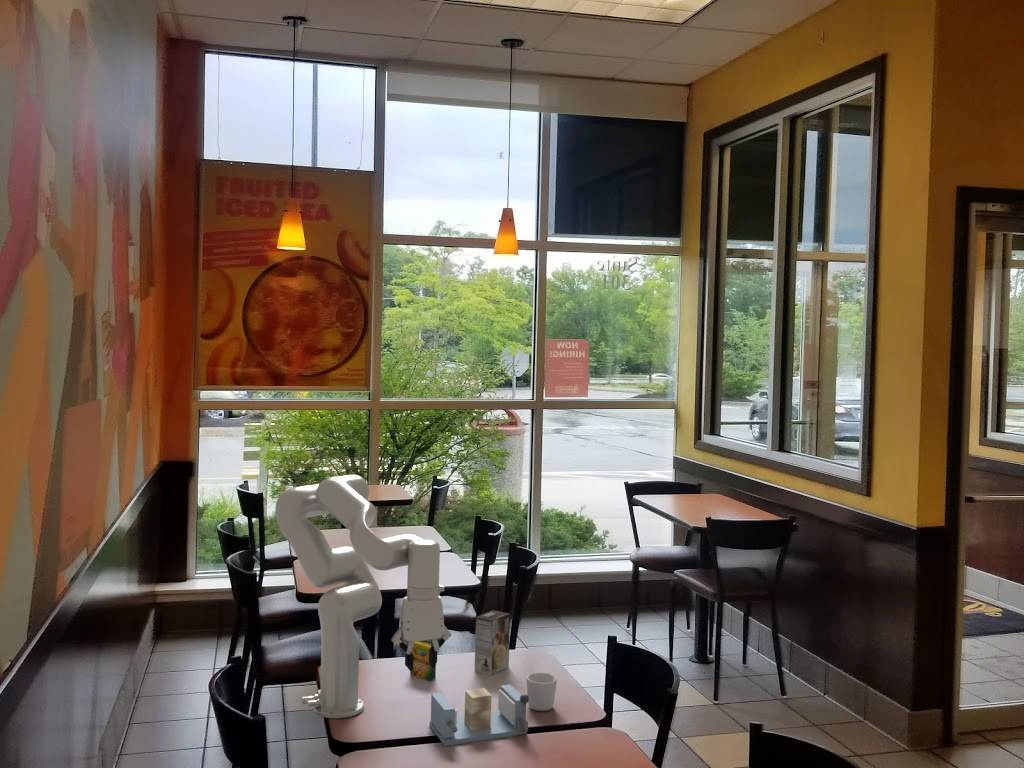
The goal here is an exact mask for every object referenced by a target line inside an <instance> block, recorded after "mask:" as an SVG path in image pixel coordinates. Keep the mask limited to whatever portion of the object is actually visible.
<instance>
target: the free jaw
mask: <svg viewBox="0 0 1024 768" xmlns="http://www.w3.org/2000/svg"><path fill="white" fill-rule="evenodd" d="M430 699H431V701H430V702H431V703H430V721H431V722H432V723H433V725H434V726H435V727H436V729H437V730H438V731H439V733H440V734H441V735H442V737H443V738H450V737H454V733H456V732H457V727H456V724H457V717H458V716H457V715H458V714H457V713H458V711H457V709H456V708H455V706H454V705H453V704H452V703H451V702H450V701H449V700H448V699H447V698H446V696H445V695H444V694H443V693H442V692H437V693H436V692H435V693H431V696H430Z"/></svg>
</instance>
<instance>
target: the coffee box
mask: <svg viewBox="0 0 1024 768" xmlns="http://www.w3.org/2000/svg"><path fill="white" fill-rule="evenodd" d="M510 618H511V613H509V612H503V611H498V610H489V611H487V612H485V613H482V614H480V615H478V616H475V636H474V637H475V638H474V671H475V672H477V673H481V674H484V675H485V674H486V675H489V676H493V675H495V674H497V673H499V672H500V671H503V670H505V669H506V668H508V667H510V665H509V664H510V632H511V631H510V627H511V626H510V625H511V624H510V621H511V619H510Z"/></svg>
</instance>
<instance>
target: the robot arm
mask: <svg viewBox="0 0 1024 768" xmlns="http://www.w3.org/2000/svg"><path fill="white" fill-rule="evenodd" d="M369 497H370V487H369V484H368V482H367V481H366V480H365V479H364V478H363V477H362V476H360V475H357V474H347V475H339V476H332V477H328V478H326V479H323V480H322V481H321V482H320V483H313V484H306V485H300V486H294V487H291V488H289V489H286V490H284V491H283V492H281V493H280V494H279V496H278V497H277V500H276V502H275V507H274V509H275V510H274V511H275V519H276V523H277V526H278V528H279V530H280V531H281V533H282V534H283V536H284V537H285V539H286V540H287V541H288V543H289V544H290V546H291V547H292V549H293V550H294V553H295V555H296V557H297V559H298V561H299V563H300V565H301V567H302V569H303V571H304V573H305V575H306V577H307V579H308V581H309V582H310V584H311V585H312V586H313V587H314V588H316V589H325V588H329V587H333V588H331V589H329V590H327V591H326V592H324V593H323V594H322V596H321V597H320V599H319V600H318V605H317V608H318V609H317V611H318V617H319V622H320V623H319V624H320V631H321V632H320V633H321V639H320V640H321V647H320V648H321V649H320V650H321V654H320V655H321V656H320V658H321V659H320V689H318V690H317V693H315V694H314V693H313V695H307V696H301V701H300V702H301V705H308V708H309V707H313V711H314V713H315V714H317V715H318V716H320V717H322V718H327V719H347V718H351V717H355V716H357V715H358V714H360V713H361V712H363V710H364V707H365V702H364V701H363V700H362V699H360V698H359V671H360V670H359V668H360V667H359V663H360V639H359V634H358V633H357V631H356V629H355V627H354V623H355V622H357V621H361V620H363V619H366V618H369V617H372V616H374V615H376V614H377V613H378V612H379V610H380V609H381V606H382V604H383V603H382V602H383V597H382V594H381V590H380V588H379V586H378V583H377V581H376V580H375V578H374V576H373V574H372V572H371V571H370V568H369V566H370V567H372V568H373V569H375V570H379V571H382V572H383V571H389V570H393V569H397V568H401V567H405V566H407V581H406V582H407V585H406V586H407V588H406V589H407V590H406V596H404V597H403V599H402V603H401V608H400V615H399V625H398V629H397V630H396V632H395V633H394V635H393V636H392V637H391V642H392V643H393V644H394V645H396V646H398V647H399V648H400V649H401V650H403V652H404V665H405V667H406V668H407V669H408V671H409V672H410V671H412V670H413V657H414V655H413V653H412V648H413V645H414V642H416V641H430V643H431V648H430V649H429V665H430V666H431V667H432V668H435V663H436V664H438V652H439V651H440V648H441V647H442V646H443V645H444V644H445V642H447V641H448V640H449V639H450V638H451V637H452V633H451V631H449V629H448V628H447V626H445V618H444V608H443V600H442V597H441V596H440V593H443V592H445V590H446V589H445V585H440V564H441V563H440V559H441V547H440V544H439V542H438V541H437V540H434V539H430V538H429V539H428V538H422V537H419V536H417V535H415V534H412V533H402V534H398V535H392V536H388V537H384V538H381V537H380V536H378V535H377V534H376V533H374V532H373V531H372V530H371V529H370V527H371V526H372V524H373V523H374V520H375V519H376V515H377V513H376V512H377V510H376V507H375V505H374V504H373V503H371V502H370V500H369ZM323 515H332V516H333V517H334V518H335V519H336V520H337V521H338V522H340V523H341V524H342V525H343V526H344V527H345V528H346V529H347V530H349V539H350V542H351V545H352V546H349V545H343V546H337V547H332V546H331V545H330V544H329V543H328V541H327V539H326V537H325V535H324V533H323V531H322V530H321V529H319V528H318V526H316V525H315V524H314V523H312V522H311V521H309V520H308V518H313V517H318V516H323ZM368 565H369V566H368ZM340 584H341V585H340ZM342 584H343V585H342ZM337 585H340V586H337ZM334 586H337V587H334ZM401 638H403V640H404V641H402V640H401Z"/></svg>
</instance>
